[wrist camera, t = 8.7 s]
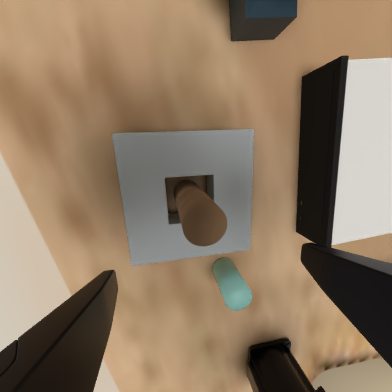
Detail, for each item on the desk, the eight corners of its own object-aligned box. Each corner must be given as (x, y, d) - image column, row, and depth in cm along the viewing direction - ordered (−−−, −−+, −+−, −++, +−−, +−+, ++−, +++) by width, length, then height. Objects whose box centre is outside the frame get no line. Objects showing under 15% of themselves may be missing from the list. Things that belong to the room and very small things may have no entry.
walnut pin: (199, 178, 20) (227, 201, 11) (200, 204, 20) (227, 243, 12) (172, 180, 19) (180, 206, 11) (174, 206, 20) (183, 249, 11)
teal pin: (233, 256, 23) (252, 284, 18) (233, 275, 24) (251, 307, 19) (212, 259, 22) (225, 289, 18) (212, 279, 23) (225, 312, 18)
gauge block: (240, 132, 19) (254, 129, 16) (238, 236, 22) (250, 249, 19) (120, 136, 17) (111, 133, 14) (136, 249, 20) (131, 266, 17)
